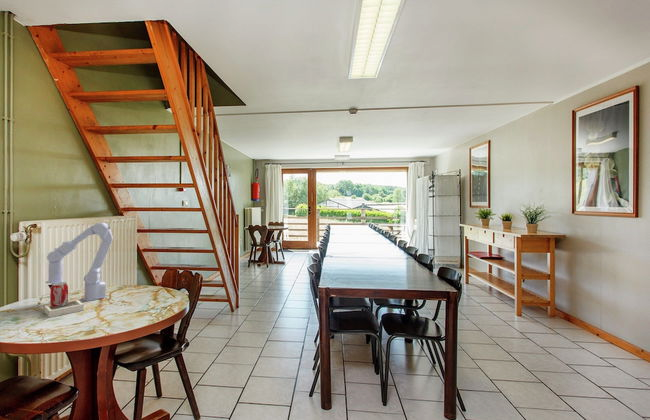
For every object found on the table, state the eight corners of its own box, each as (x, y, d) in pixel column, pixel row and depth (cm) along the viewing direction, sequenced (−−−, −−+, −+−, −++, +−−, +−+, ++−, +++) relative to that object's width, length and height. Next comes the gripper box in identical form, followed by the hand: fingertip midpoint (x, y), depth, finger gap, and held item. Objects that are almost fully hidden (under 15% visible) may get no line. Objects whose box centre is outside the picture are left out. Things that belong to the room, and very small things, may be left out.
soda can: (71, 304, 159) (71, 282, 159) (55, 309, 152) (55, 285, 152) (62, 303, 161) (62, 281, 161) (46, 307, 154) (47, 284, 154)
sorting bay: (77, 305, 158) (77, 299, 158) (83, 310, 151) (83, 304, 151) (44, 311, 148) (44, 305, 148) (49, 317, 141) (49, 311, 141)
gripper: (43, 271, 164) (43, 296, 164) (48, 275, 155) (48, 301, 155) (60, 269, 170) (59, 293, 170) (65, 273, 161) (65, 298, 161)
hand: (55, 297), depth 163 cm, fingers closed
